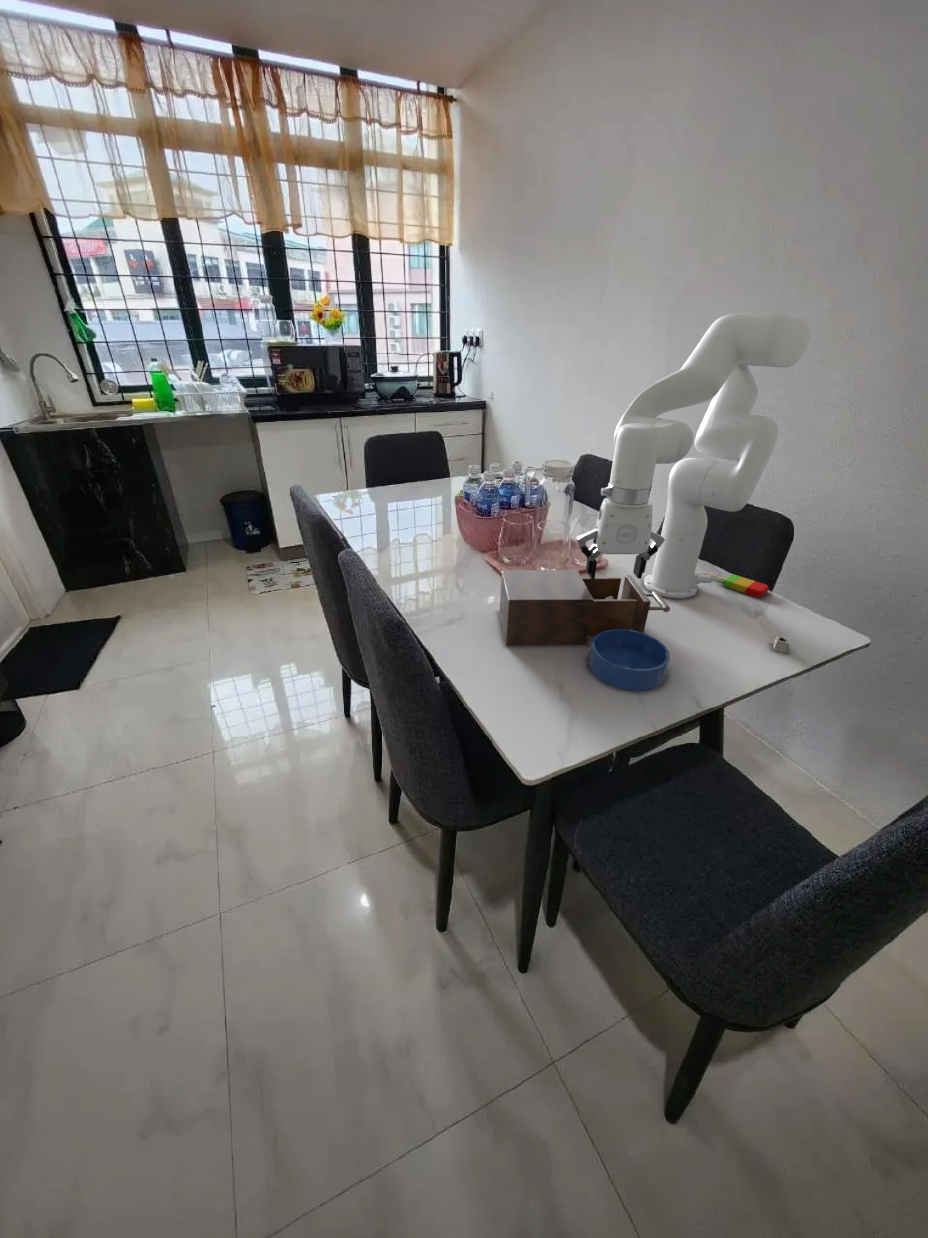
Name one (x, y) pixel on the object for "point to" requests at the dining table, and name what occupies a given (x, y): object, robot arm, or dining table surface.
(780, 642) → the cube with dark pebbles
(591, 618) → the drawer
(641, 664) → the bowl
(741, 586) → the popsicle
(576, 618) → the cabinet
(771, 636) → the dining table surface
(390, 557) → the dining table surface
